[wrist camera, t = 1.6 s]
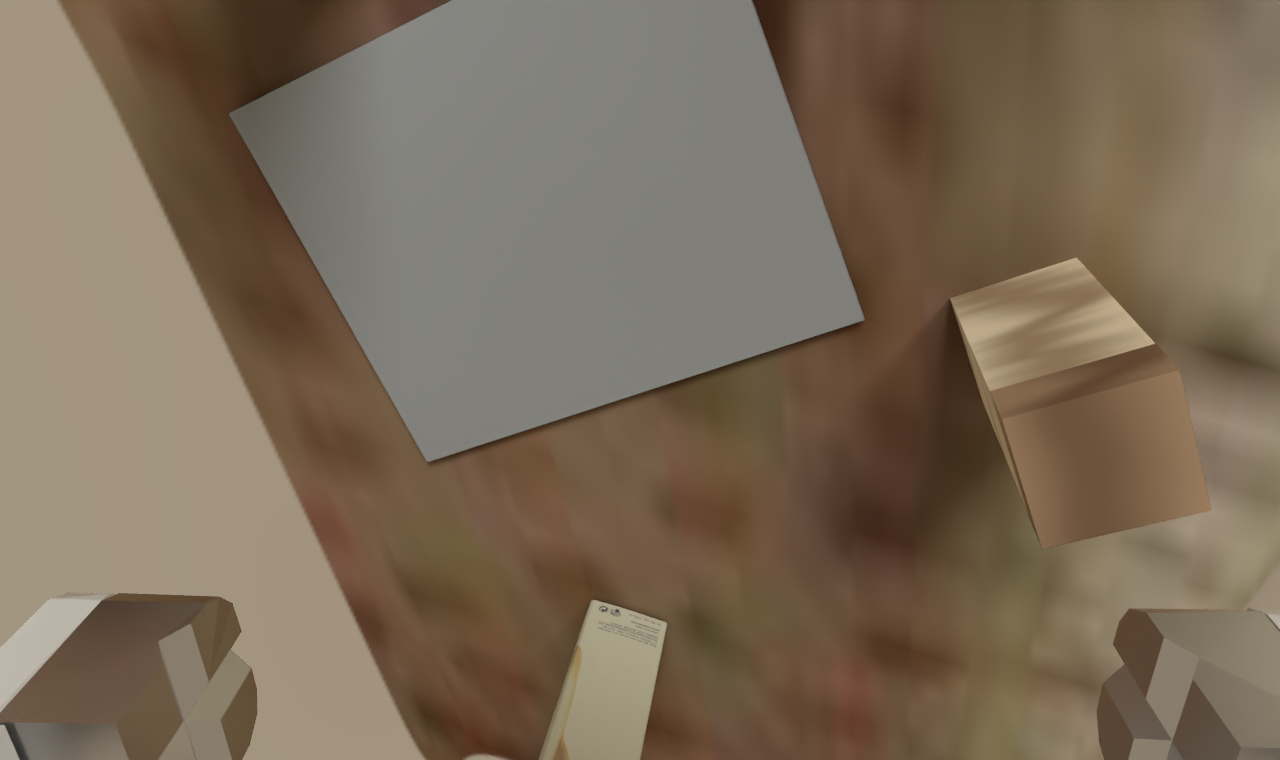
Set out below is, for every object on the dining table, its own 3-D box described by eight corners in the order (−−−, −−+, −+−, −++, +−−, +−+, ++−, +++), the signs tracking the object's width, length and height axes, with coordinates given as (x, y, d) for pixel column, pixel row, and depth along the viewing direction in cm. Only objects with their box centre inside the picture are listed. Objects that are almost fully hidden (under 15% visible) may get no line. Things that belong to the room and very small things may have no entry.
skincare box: (591, 594, 47) (527, 787, 36) (670, 619, 47) (630, 820, 36) (565, 681, 50) (498, 884, 39) (640, 706, 50) (594, 916, 39)
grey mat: (707, -128, 32) (705, -129, 32) (863, 315, 38) (864, 320, 38) (236, 111, 39) (228, 113, 38) (431, 456, 45) (427, 462, 44)
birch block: (1076, 257, 36) (1179, 369, 26) (1104, 365, 37) (1211, 510, 28) (949, 298, 37) (1002, 419, 28) (982, 400, 39) (1042, 549, 29)
